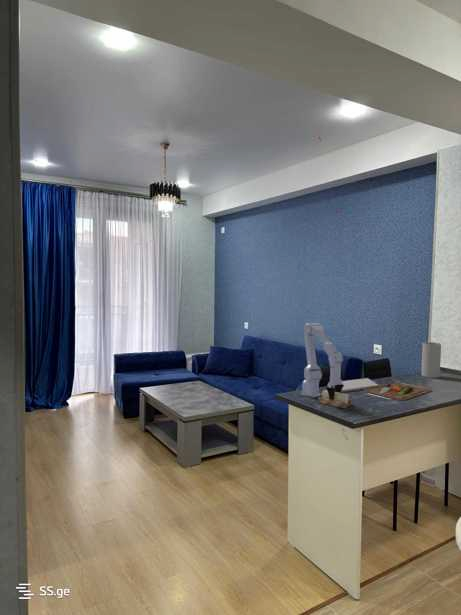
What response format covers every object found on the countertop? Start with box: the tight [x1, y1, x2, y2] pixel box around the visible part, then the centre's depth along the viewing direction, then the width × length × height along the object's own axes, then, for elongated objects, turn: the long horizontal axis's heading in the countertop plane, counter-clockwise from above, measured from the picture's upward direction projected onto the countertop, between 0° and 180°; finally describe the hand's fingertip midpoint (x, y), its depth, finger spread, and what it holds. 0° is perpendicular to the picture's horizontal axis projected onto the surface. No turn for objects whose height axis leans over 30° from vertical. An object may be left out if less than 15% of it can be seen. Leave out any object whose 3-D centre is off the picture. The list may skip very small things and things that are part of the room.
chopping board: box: [363, 381, 432, 402], centre depth 262 cm, size 45×27×3 cm, turn 130°
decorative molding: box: [333, 377, 379, 393], centre depth 268 cm, size 34×5×10 cm
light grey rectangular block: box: [321, 389, 349, 404], centre depth 231 cm, size 14×4×5 cm, turn 49°
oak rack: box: [317, 396, 352, 409], centre depth 232 cm, size 16×9×3 cm, turn 49°
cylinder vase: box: [421, 341, 442, 379], centre depth 307 cm, size 12×12×25 cm
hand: (334, 398), depth 231 cm, fingers open, 7 cm apart
